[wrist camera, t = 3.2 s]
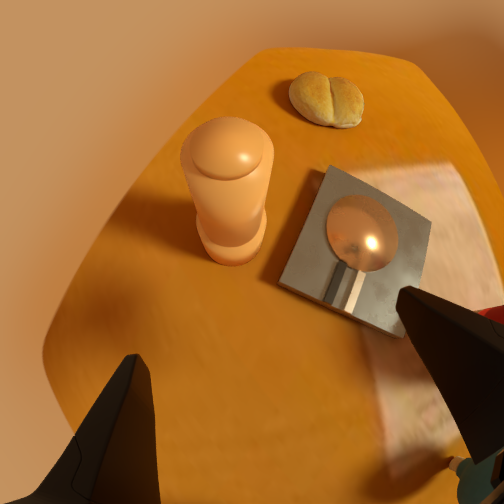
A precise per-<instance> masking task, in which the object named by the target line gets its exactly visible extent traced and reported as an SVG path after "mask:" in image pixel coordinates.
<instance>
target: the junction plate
mask: <svg viewBox="0 0 504 504" xmlns="http://www.w3.org/2000/svg"><path fill="white" fill-rule="evenodd" d="M430 229H431V221H429V220H427V219H426V218H424V217H423V216H421V215H420V214H418V213H417V212H415V211H413V210H412V209H410V208H408V207H407V206H405V205H404V204H402V203H400V202H399V201H397V200H395V199H393V198H392V197H390V196H388V195H387V194H385V193H383V192H381V191H379V190H378V189H376V188H374V187H372V186H370V185H369V184H367V183H365V182H363V181H361V180H359V179H357V178H355V177H353V176H352V175H350V174H348V173H346V172H344V171H342V170H340V169H338V168H336V167H334V166H332V165H329V167H328V169H327V171H326V173H325V175H324V178H323V180H322V182H321V185H320V187H319V190H318V192H317V194H316V197H315V199H314V201H313V204H312V206H311V209H310V211H309V213H308V215H307V218H306V220H305V222H304V225H303V227H302V229H301V232H300V234H299V236H298V238H297V241H296V243H295V245H294V247H293V250H292V252H291V254H290V256H289V258H288V261H287V263H286V265H285V267H284V269H283V272H282V274H281V276H280V278H279V280H278V282H277V285H279V286H281V287H283V288H285V289H288V290H290V291H292V292H294V293H296V294H298V295H300V296H302V297H305V298H307V299H309V300H311V301H313V302H315V303H318V304H320V305H322V306H324V307H326V308H328V309H331V310H333V311H335V312H337V313H339V314H341V315H344V316H346V317H348V318H350V319H352V320H355V321H357V322H359V323H361V324H364V325H366V326H368V327H370V328H372V329H375V330H377V331H379V332H381V333H384V334H386V335H388V336H390V337H393V338H404V335H405V332H406V330H405V328H404V326H403V324H402V322H401V320H400V318H399V316H398V314H397V312H396V308H395V306H396V301H397V297H398V293H399V290H400V289H401V288H403V287H405V286H409V285H410V286H413V287H416V288H418V287H419V283H420V279H421V275H422V271H423V266H424V262H425V257H426V252H427V246H428V241H429V235H430Z"/></svg>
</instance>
